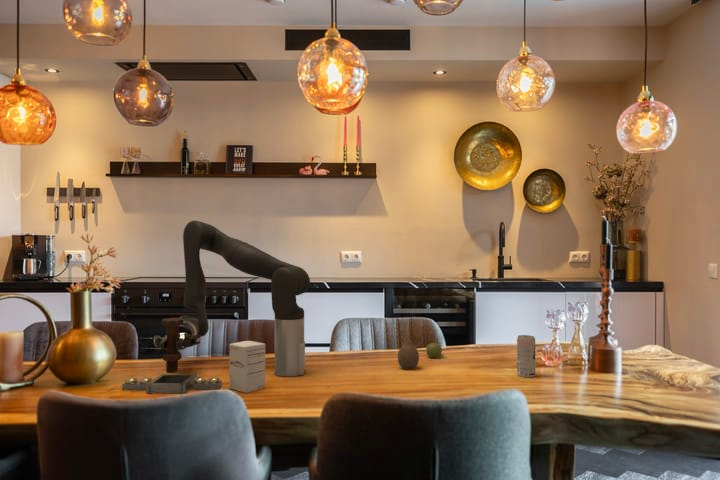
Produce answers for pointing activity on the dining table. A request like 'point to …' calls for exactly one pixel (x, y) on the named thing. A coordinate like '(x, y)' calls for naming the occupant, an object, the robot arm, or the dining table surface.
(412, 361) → the vase
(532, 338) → the energy drink
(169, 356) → the bolt
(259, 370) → the supplement box
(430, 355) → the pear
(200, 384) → the chain end
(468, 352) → the dining table surface
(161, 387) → the chain end
